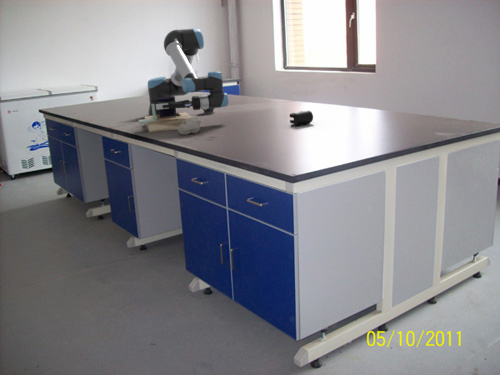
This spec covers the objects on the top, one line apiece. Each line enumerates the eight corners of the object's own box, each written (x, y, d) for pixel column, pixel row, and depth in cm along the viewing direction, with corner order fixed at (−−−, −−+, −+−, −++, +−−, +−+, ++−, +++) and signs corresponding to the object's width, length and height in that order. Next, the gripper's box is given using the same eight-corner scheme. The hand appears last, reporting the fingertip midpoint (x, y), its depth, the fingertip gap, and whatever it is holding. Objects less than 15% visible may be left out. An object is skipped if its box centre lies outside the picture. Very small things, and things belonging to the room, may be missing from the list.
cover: (138, 121, 276) (136, 105, 273) (155, 119, 278) (153, 103, 275) (139, 123, 267) (137, 107, 265) (156, 121, 270) (154, 105, 267)
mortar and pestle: (205, 114, 317) (203, 95, 314) (198, 113, 325) (196, 94, 321) (221, 112, 323) (219, 92, 320) (213, 110, 330) (211, 92, 327)
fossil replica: (174, 135, 255) (190, 138, 250) (172, 119, 252) (188, 122, 247) (189, 129, 264) (204, 131, 259) (187, 113, 261) (203, 115, 256)
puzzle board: (145, 124, 296) (144, 115, 294) (186, 119, 301) (185, 110, 300) (149, 132, 268) (148, 122, 266) (194, 127, 274) (193, 117, 272)
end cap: (298, 127, 253) (298, 113, 251) (289, 126, 259) (288, 112, 257) (313, 124, 259) (313, 110, 257) (304, 123, 264) (303, 109, 262)
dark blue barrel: (157, 125, 289) (154, 98, 285) (166, 122, 298) (163, 96, 294) (172, 125, 286) (169, 98, 281) (181, 122, 294) (178, 96, 290)
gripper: (202, 110, 272) (158, 115, 267) (198, 108, 284) (156, 112, 279) (201, 96, 270) (156, 101, 265) (197, 94, 282) (154, 98, 277)
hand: (156, 106), depth 272 cm, fingers closed
